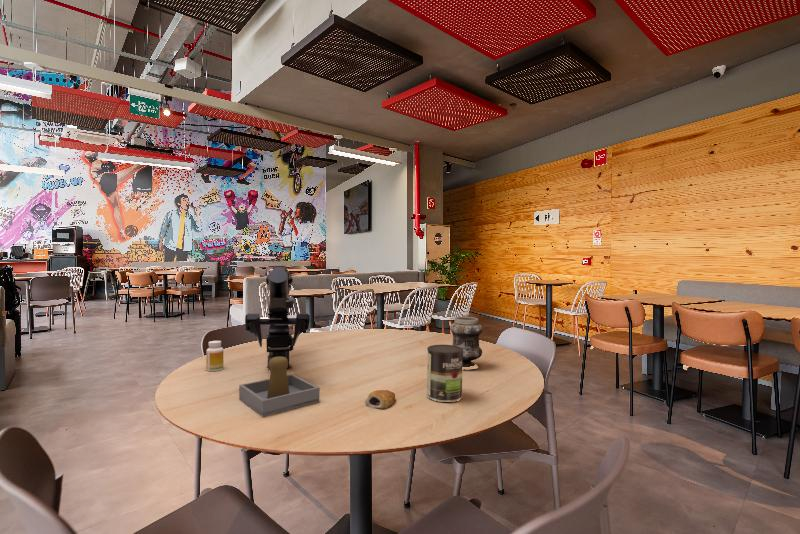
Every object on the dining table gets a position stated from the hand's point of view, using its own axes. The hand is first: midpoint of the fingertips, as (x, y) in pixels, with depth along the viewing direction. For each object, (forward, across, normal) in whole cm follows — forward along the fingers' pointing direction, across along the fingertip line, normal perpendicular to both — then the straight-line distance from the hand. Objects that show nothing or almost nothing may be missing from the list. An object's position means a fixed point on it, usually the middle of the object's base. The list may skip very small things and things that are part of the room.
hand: (277, 345), depth 119 cm
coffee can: (+21, +46, -3) cm, 51 cm away
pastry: (+21, +28, -3) cm, 35 cm away
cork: (+14, +1, +3) cm, 15 cm away
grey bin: (+15, +1, +4) cm, 16 cm away
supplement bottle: (-10, -20, +31) cm, 38 cm away
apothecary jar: (+2, +66, +16) cm, 68 cm away
